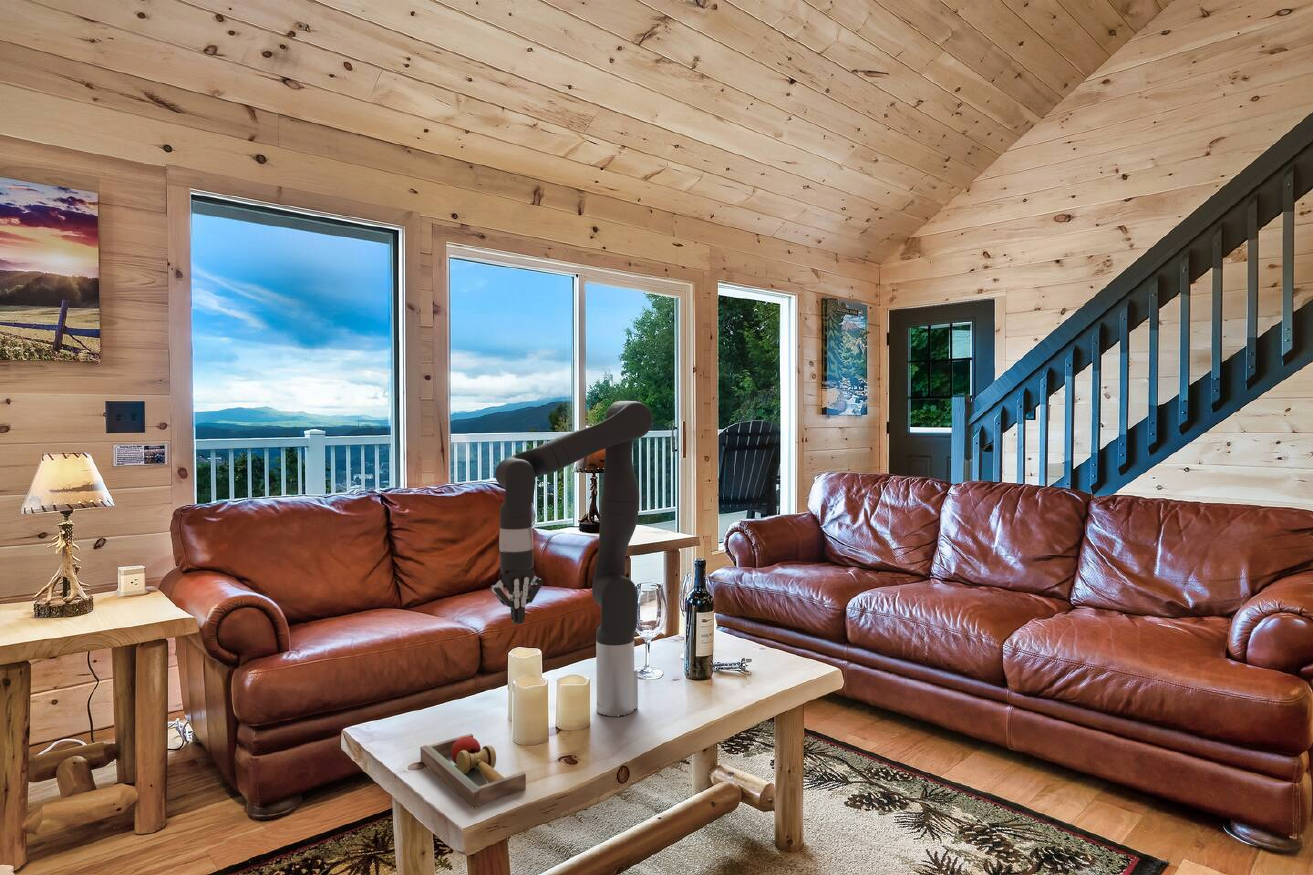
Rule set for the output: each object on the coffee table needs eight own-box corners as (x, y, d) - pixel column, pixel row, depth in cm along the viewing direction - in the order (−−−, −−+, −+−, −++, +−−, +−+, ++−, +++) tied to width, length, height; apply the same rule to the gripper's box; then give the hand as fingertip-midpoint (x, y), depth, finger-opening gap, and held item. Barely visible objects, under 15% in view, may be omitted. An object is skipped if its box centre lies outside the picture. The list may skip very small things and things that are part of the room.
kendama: (521, 791, 154) (478, 748, 168) (518, 763, 153) (474, 722, 166) (486, 811, 150) (444, 765, 163) (482, 782, 148) (440, 739, 161)
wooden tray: (470, 746, 172) (470, 732, 171) (527, 789, 152) (526, 774, 152) (420, 760, 165) (420, 746, 164) (473, 808, 145) (473, 792, 145)
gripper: (533, 541, 184) (534, 614, 184) (481, 548, 175) (483, 625, 176) (550, 545, 178) (551, 621, 179) (498, 553, 169) (500, 632, 170)
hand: (517, 623), depth 177 cm, fingers closed
